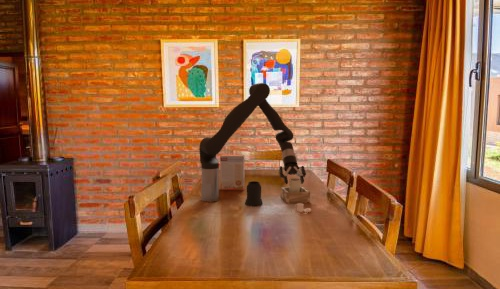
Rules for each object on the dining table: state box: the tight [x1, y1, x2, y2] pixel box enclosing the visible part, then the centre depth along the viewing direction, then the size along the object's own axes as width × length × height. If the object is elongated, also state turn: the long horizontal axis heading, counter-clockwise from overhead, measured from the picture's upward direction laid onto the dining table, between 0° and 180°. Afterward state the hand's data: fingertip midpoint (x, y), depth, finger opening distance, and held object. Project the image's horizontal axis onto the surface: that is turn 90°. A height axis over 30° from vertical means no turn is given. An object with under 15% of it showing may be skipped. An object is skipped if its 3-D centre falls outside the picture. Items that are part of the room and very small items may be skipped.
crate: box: [280, 186, 311, 204], centre depth 172 cm, size 13×12×6 cm
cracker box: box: [219, 154, 246, 192], centre depth 192 cm, size 14×6×21 cm, turn 84°
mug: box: [244, 180, 263, 208], centre depth 165 cm, size 12×9×11 cm
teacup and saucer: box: [291, 203, 312, 215], centre depth 152 cm, size 9×8×4 cm
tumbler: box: [288, 177, 301, 192], centre depth 172 cm, size 6×6×10 cm
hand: (294, 183), depth 172 cm, fingers open, 8 cm apart
